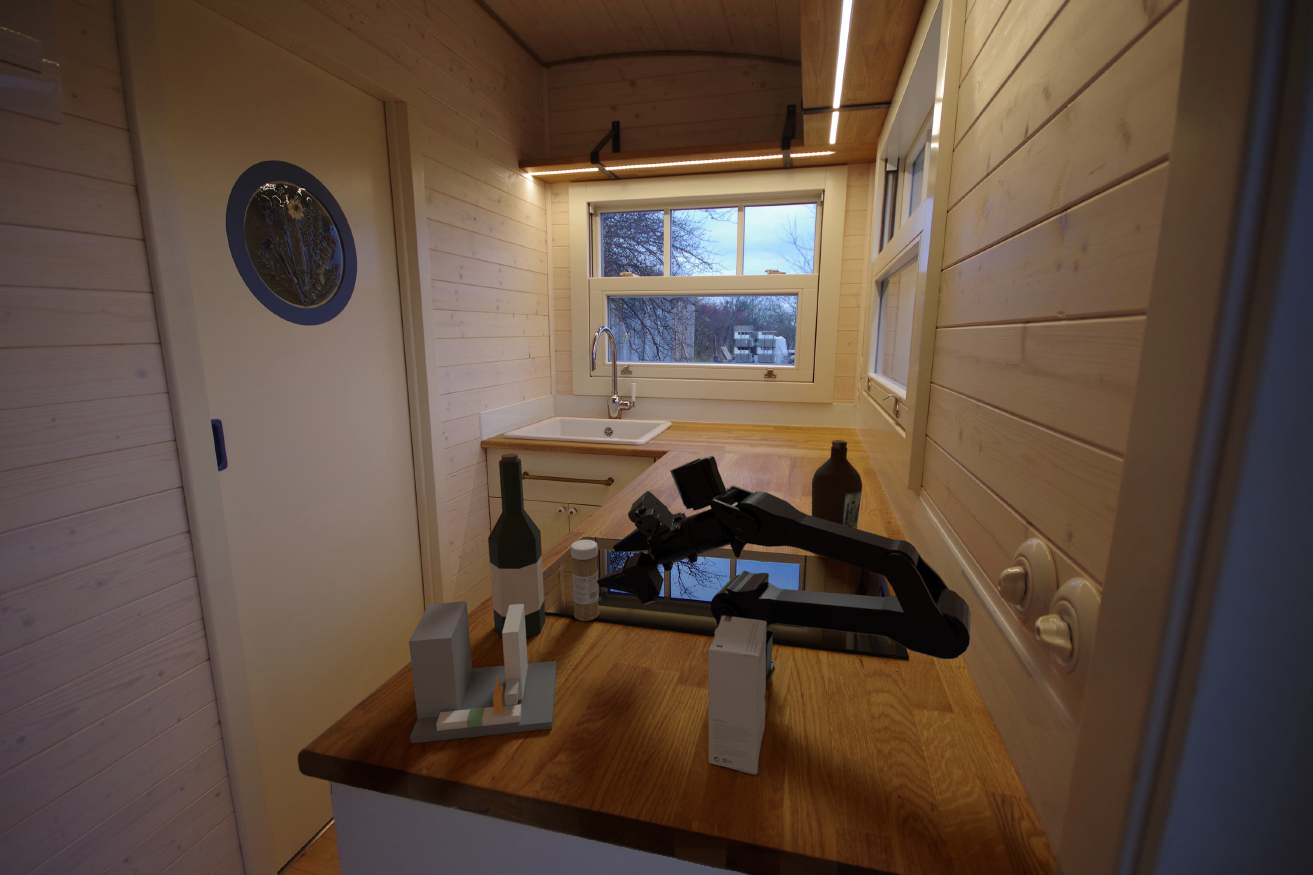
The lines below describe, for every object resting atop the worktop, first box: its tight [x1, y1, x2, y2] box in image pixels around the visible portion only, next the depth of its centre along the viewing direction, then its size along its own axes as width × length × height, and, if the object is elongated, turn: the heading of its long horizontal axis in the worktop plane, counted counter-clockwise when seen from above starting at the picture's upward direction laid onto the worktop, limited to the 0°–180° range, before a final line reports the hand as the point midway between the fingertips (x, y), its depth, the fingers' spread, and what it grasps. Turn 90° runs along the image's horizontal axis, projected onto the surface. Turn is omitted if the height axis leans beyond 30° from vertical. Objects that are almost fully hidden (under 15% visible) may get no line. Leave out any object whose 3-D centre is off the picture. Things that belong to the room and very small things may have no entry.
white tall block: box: [501, 604, 528, 705], centre depth 71 cm, size 2×10×10 cm, turn 8°
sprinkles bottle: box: [570, 539, 600, 622], centre depth 92 cm, size 5×5×13 cm
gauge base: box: [408, 600, 558, 744], centre depth 70 cm, size 17×12×12 cm
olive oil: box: [811, 439, 863, 529], centre depth 118 cm, size 11×11×25 cm
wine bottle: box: [487, 453, 546, 640], centre depth 86 cm, size 8×8×30 cm
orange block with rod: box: [493, 676, 504, 713], centre depth 66 cm, size 1×2×4 cm, turn 8°
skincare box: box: [707, 616, 767, 776], centre depth 63 cm, size 8×6×15 cm
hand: (606, 565), depth 82 cm, fingers open, 9 cm apart
